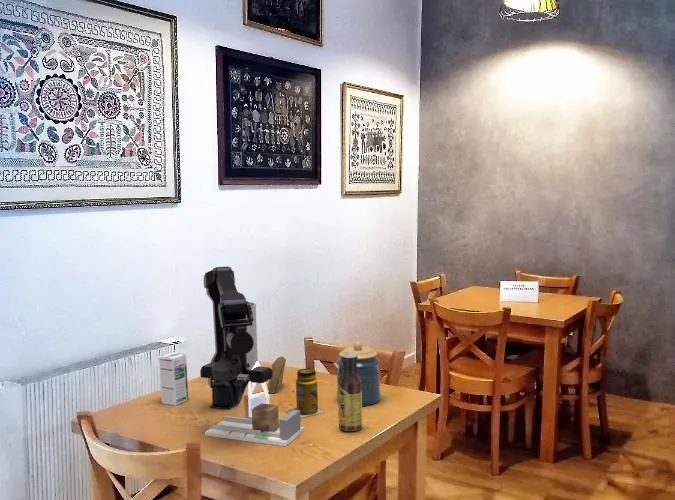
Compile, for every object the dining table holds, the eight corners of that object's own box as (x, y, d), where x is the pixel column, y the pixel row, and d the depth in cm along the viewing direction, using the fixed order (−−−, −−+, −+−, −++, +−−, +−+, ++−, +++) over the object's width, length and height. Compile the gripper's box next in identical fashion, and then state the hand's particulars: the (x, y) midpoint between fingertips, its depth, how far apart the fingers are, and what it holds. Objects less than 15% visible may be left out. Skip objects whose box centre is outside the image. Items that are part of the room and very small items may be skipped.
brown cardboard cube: (246, 436, 166) (245, 413, 166) (261, 425, 174) (261, 403, 173) (263, 438, 165) (263, 415, 164) (278, 427, 172) (278, 405, 172)
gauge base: (205, 435, 171) (204, 412, 171) (227, 421, 181) (226, 399, 181) (285, 446, 163) (284, 422, 162) (303, 430, 173) (303, 408, 172)
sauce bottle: (337, 424, 177) (336, 352, 175) (360, 423, 177) (359, 351, 176) (339, 433, 170) (338, 358, 169) (363, 432, 171) (362, 357, 169)
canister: (382, 393, 203) (382, 337, 201) (377, 407, 190) (377, 347, 188) (341, 392, 205) (339, 336, 203) (333, 406, 192) (332, 346, 191)
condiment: (323, 412, 187) (322, 371, 186) (297, 418, 182) (296, 376, 181) (310, 405, 193) (309, 365, 192) (285, 411, 188) (283, 370, 187)
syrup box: (175, 406, 195) (173, 358, 194) (160, 403, 198) (158, 355, 197) (188, 400, 200) (186, 353, 199) (174, 397, 203) (172, 351, 202)
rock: (280, 388, 202) (298, 376, 211) (264, 365, 204) (283, 354, 212) (260, 404, 208) (279, 391, 217) (245, 381, 210) (264, 370, 218)
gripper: (186, 350, 168) (189, 410, 169) (251, 356, 161) (253, 418, 162) (210, 340, 178) (213, 397, 179) (272, 345, 171) (274, 404, 172)
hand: (237, 404), depth 173 cm, fingers closed
